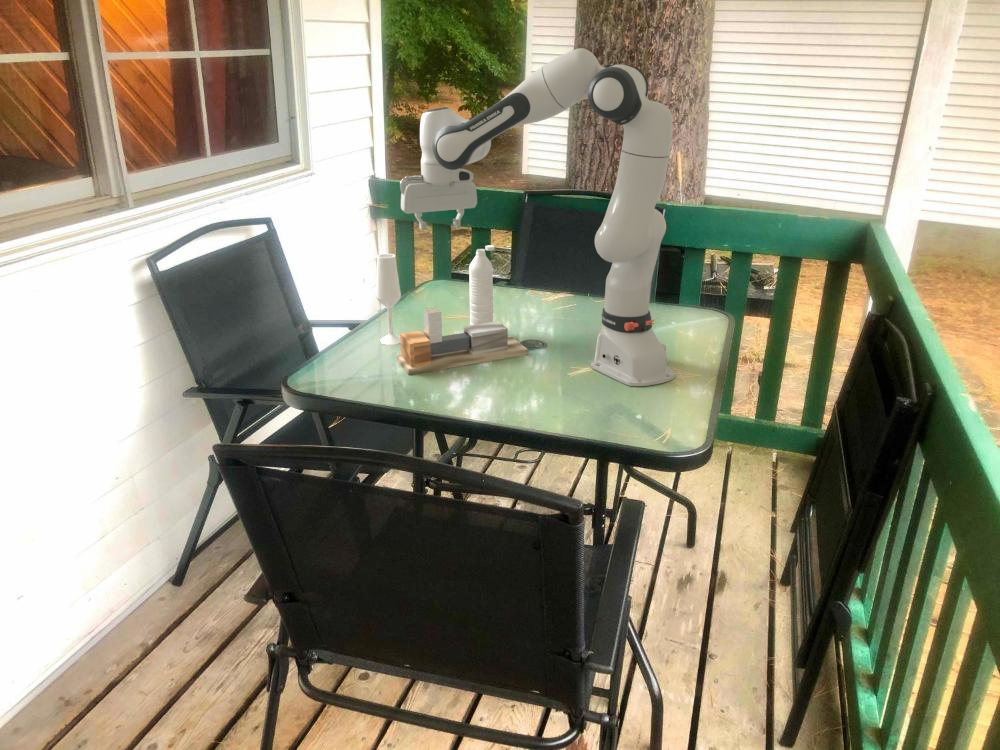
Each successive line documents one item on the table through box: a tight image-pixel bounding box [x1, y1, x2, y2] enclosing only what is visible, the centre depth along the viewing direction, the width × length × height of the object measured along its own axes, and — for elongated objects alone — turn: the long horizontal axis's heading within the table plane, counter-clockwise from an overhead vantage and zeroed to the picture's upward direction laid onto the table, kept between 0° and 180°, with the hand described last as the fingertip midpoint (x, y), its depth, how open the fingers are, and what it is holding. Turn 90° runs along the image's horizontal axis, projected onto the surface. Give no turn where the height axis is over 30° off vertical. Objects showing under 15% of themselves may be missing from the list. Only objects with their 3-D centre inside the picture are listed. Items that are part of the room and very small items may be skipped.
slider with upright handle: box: [422, 306, 471, 355], centre depth 198 cm, size 4×22×11 cm, turn 114°
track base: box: [396, 321, 529, 375], centre depth 201 cm, size 10×33×8 cm, turn 114°
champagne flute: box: [375, 253, 402, 346], centre depth 209 cm, size 7×7×24 cm
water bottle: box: [468, 244, 495, 326], centre depth 212 cm, size 9×6×25 cm
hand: (440, 227), depth 203 cm, fingers open, 8 cm apart
